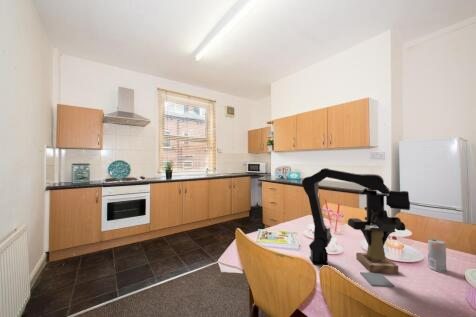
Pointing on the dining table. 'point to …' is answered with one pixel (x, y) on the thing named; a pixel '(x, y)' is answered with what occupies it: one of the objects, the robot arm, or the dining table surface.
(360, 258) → the walnut frame
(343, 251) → the dining table surface
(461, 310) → the dining table surface
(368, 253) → the cork
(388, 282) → the rubber mat
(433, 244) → the energy drink
